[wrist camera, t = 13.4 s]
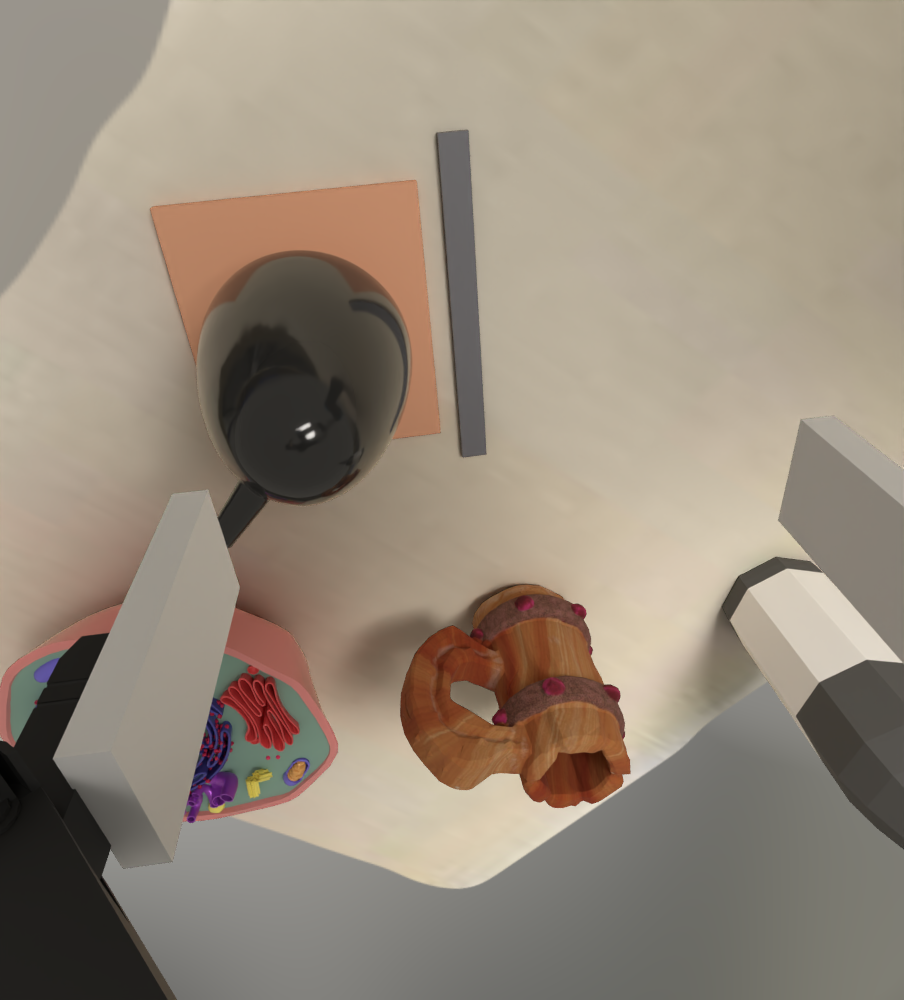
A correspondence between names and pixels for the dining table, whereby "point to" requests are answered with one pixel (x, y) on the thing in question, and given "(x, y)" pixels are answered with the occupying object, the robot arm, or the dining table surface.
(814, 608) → the wine bottle
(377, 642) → the dining table surface
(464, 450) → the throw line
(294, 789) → the cell model
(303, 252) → the pump dispenser
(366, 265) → the mat
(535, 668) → the mug
